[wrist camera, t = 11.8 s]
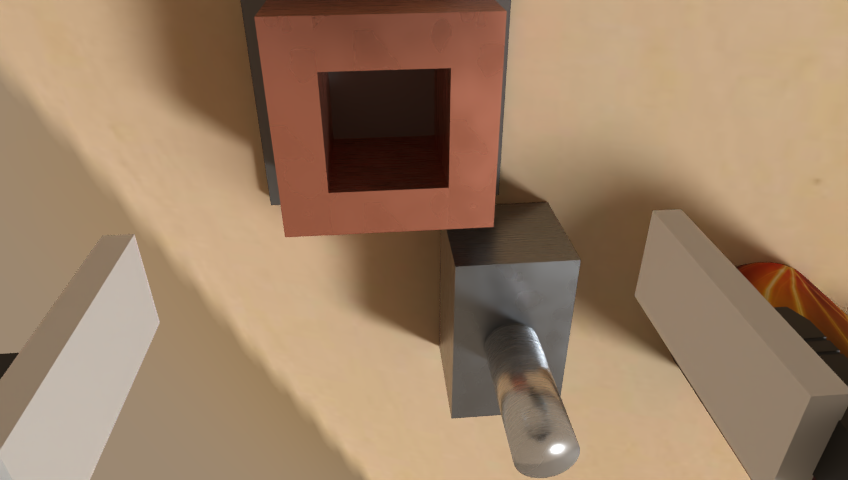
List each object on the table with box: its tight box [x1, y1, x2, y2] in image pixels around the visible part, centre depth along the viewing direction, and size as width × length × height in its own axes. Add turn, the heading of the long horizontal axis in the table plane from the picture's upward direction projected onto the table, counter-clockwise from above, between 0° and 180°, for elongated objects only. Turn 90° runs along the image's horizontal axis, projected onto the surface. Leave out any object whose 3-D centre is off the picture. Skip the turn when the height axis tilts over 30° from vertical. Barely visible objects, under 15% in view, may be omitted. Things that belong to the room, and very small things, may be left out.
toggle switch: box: [439, 202, 581, 478], centre depth 31 cm, size 10×6×13 cm, turn 0°
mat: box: [241, 0, 511, 205], centre depth 30 cm, size 12×12×1 cm
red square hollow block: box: [254, 0, 507, 237], centre depth 27 cm, size 9×9×6 cm
